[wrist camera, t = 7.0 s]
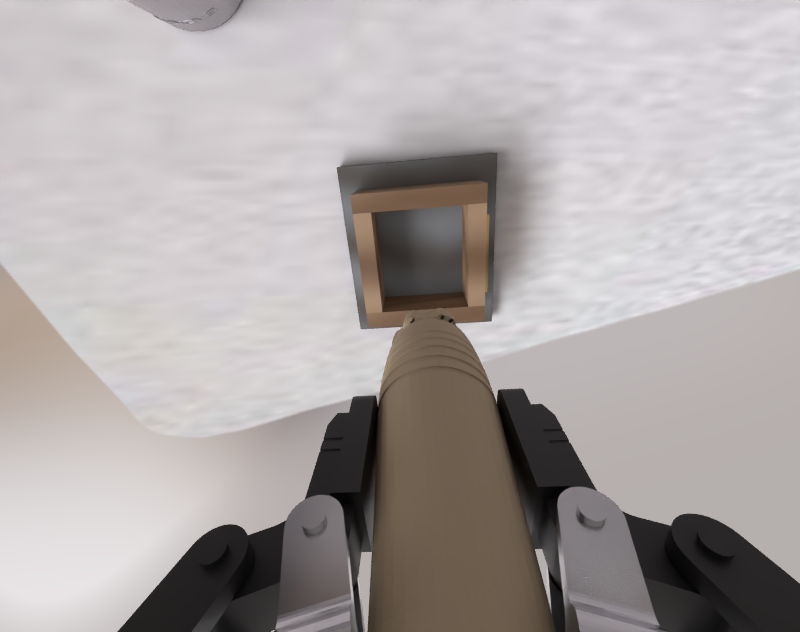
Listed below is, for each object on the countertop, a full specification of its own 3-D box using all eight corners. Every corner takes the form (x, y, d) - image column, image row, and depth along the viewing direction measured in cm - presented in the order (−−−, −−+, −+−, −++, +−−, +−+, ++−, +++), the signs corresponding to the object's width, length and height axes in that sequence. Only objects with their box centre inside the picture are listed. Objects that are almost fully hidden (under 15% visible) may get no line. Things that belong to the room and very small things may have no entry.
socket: (338, 167, 29) (327, 168, 25) (494, 152, 28) (508, 152, 24) (362, 324, 35) (355, 346, 31) (489, 316, 34) (499, 338, 30)
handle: (390, 261, 15) (199, 1298, 1) (513, 320, 16) (1078, 1229, 2) (348, 346, 17) (95, 1130, 3) (460, 394, 18) (618, 1135, 4)
